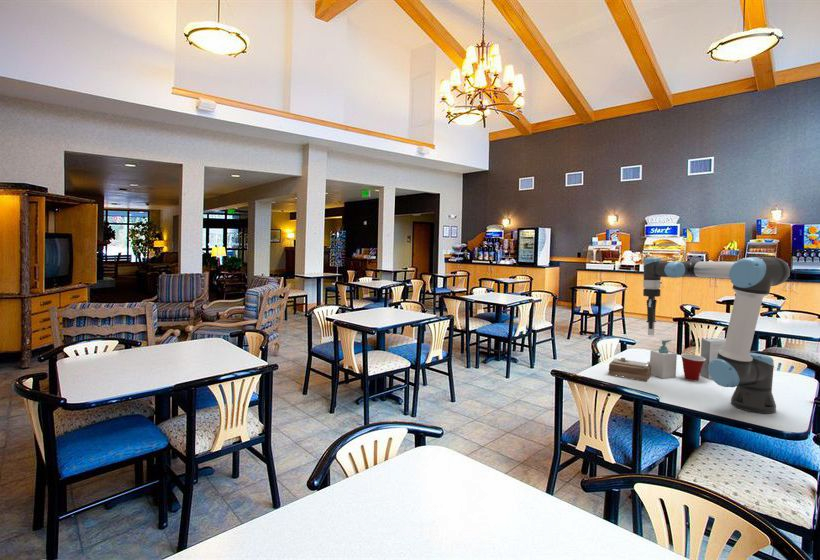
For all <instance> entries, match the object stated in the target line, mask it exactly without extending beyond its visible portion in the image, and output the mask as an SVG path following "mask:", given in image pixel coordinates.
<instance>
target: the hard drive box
mask: <svg viewBox="0 0 820 560" xmlns="http://www.w3.org/2000/svg"><path fill="white" fill-rule="evenodd" d="M725 340H726V338H701V339H700V356H701V357H703V358H705V359H706V360H705V361H704V363H703V365H702V368H701V372H700V375H699V376H701V375H702V377H703V376H704V378H705V379H707V380H712V377H711V376H710V375H709V372H708V365H709V363H710V362H711V361H712V360H714V359H717V355H718V351H719V350H721V349H723V348H724V344H725Z"/></svg>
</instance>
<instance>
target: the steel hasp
mask: <svg viewBox="0 0 820 560" xmlns="http://www.w3.org/2000/svg"><path fill="white" fill-rule="evenodd" d="M612 361H613V362H616V363H622V364H628V365H634V366H640V367H644V366H649V363H647V362H643V361H642V362H641V361H635V360H628V359H625V362H624V361H621V358H617V357H615V358H614V359H612Z"/></svg>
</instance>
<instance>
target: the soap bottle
mask: <svg viewBox="0 0 820 560" xmlns="http://www.w3.org/2000/svg"><path fill="white" fill-rule="evenodd" d="M660 341H662V342H661V346H660V348H659V349H652V350H650V353H649V354H650V355H649V356H650V357H649V360H650V361H649V362H650V363H651V376H655V377H657V378H660V379H671V378H676V375H677V360H678V359H677V358H678V353H677V352H674V351H670V350H669V349H668V346H666V344H668V343H669V342H671V341H672V340H671V339H660Z"/></svg>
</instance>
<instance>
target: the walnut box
mask: <svg viewBox="0 0 820 560" xmlns="http://www.w3.org/2000/svg"><path fill="white" fill-rule="evenodd" d="M620 359H621V361H624V362H625V360H626V357H621V358H620ZM646 363H649V366H644V367H640V366H634V365H628V364H622V363H616V362H613V360H612V361H610V362H609V364H608V375H609V374H610V375H609V376H612V375H617V376H616V377H618V376H624V377H629V378H628V379H630V378H634V379H633V380H636V379H639V380H638V381H642V380H643V381H644V382H648V380H649V379H650V377H651V376H652V375H651V363H650V361H647V362H646ZM624 377H623V378H624Z"/></svg>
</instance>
